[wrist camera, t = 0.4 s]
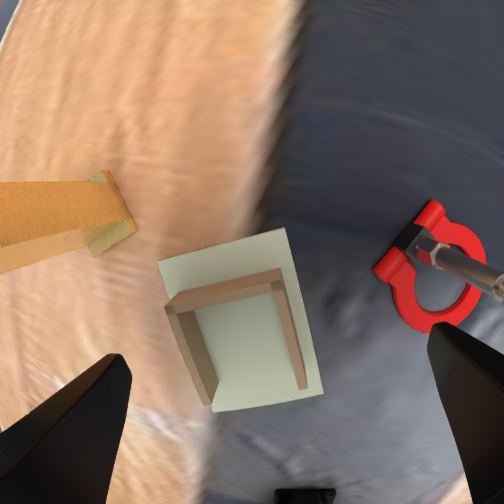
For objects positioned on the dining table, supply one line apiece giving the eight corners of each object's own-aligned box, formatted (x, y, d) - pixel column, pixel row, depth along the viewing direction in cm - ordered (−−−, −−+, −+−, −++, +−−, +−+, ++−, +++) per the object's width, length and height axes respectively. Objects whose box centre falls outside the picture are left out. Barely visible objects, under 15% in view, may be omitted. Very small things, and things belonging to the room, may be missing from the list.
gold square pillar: (138, 229, 22) (10, 270, 9) (100, 255, 22) (-24, 306, 10) (109, 171, 21) (-25, 164, 9) (73, 199, 22) (-56, 214, 9)
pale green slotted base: (322, 389, 23) (328, 417, 19) (214, 408, 24) (206, 435, 20) (284, 227, 21) (285, 234, 17) (159, 260, 22) (138, 272, 18)
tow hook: (493, 269, 20) (433, 188, 19) (603, 329, 8) (574, 206, 7) (429, 345, 22) (359, 276, 21) (512, 448, 9) (451, 384, 8)
